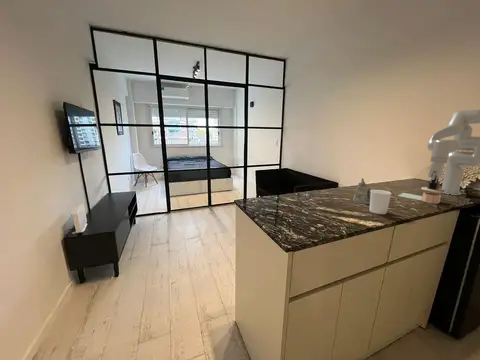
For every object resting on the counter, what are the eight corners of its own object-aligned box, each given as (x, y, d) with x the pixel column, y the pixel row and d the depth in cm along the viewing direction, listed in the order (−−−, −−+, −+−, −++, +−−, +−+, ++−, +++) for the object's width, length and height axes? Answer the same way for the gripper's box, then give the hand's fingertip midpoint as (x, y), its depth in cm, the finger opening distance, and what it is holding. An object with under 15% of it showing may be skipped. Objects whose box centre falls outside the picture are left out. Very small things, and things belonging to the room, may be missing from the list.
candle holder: (385, 216, 112) (388, 195, 110) (365, 211, 120) (368, 191, 117) (390, 212, 119) (393, 192, 116) (371, 207, 126) (373, 188, 123)
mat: (403, 193, 156) (403, 192, 156) (425, 197, 146) (425, 196, 146) (397, 196, 148) (397, 195, 148) (420, 201, 138) (420, 200, 138)
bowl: (423, 199, 141) (425, 191, 140) (439, 203, 135) (441, 194, 133) (420, 202, 136) (421, 193, 135) (437, 205, 130) (439, 196, 128)
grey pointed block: (349, 200, 139) (354, 179, 135) (357, 196, 150) (361, 176, 147) (376, 207, 128) (381, 184, 125) (382, 203, 140) (387, 181, 136)
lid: (423, 187, 141) (425, 179, 140) (445, 190, 133) (447, 181, 131) (419, 190, 135) (421, 181, 133) (442, 193, 126) (444, 184, 125)
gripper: (433, 158, 137) (428, 185, 141) (427, 160, 127) (422, 189, 131) (449, 159, 131) (443, 187, 135) (444, 161, 122) (438, 191, 126)
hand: (433, 188), depth 133 cm, fingers closed on lid, 3 cm apart
